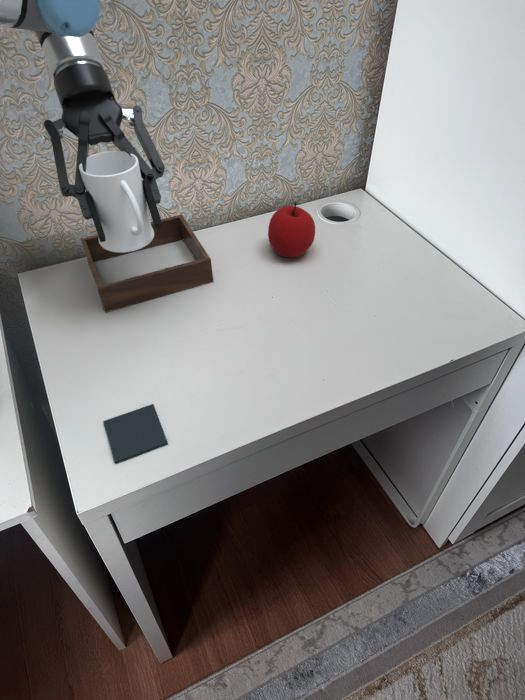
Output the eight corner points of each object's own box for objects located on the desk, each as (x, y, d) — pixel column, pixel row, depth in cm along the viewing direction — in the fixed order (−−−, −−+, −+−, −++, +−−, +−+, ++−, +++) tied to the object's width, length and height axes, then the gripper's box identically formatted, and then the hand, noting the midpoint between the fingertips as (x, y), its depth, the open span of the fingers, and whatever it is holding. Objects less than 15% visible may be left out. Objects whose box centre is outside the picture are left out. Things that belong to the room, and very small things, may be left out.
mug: (171, 253, 72) (157, 177, 63) (116, 270, 69) (94, 193, 60) (142, 217, 79) (127, 144, 71) (92, 232, 76) (69, 158, 68)
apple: (260, 242, 96) (260, 196, 88) (302, 233, 98) (305, 187, 90) (277, 268, 90) (278, 221, 82) (321, 258, 92) (326, 211, 84)
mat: (115, 464, 61) (114, 462, 61) (104, 423, 66) (103, 421, 65) (168, 444, 63) (167, 442, 63) (153, 405, 68) (153, 403, 67)
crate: (87, 261, 92) (80, 238, 88) (185, 236, 97) (181, 214, 94) (105, 312, 82) (97, 289, 78) (213, 281, 87) (211, 259, 83)
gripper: (148, 81, 74) (194, 223, 76) (9, 101, 69) (61, 255, 70) (151, 50, 67) (202, 208, 69) (-4, 70, 61) (55, 243, 63)
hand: (131, 232), depth 69 cm, fingers closed on mug, 7 cm apart
